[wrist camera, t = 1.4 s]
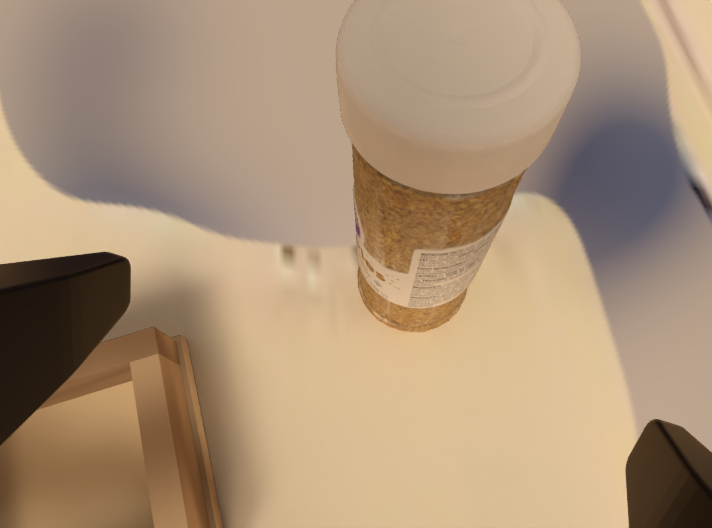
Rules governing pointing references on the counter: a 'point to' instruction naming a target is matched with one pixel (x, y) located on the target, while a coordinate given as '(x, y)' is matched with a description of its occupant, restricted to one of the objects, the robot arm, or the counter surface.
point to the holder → (114, 445)
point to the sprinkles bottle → (444, 136)
